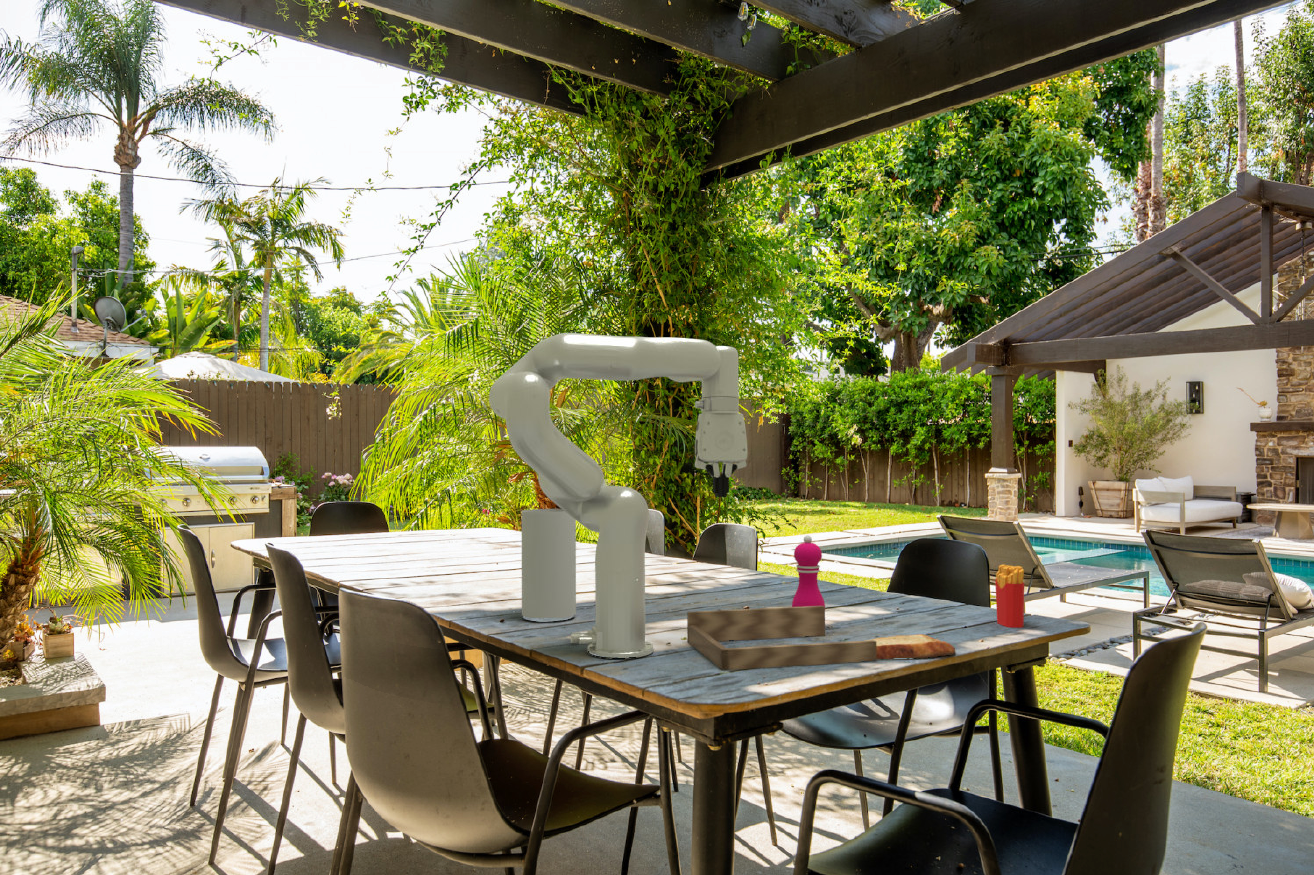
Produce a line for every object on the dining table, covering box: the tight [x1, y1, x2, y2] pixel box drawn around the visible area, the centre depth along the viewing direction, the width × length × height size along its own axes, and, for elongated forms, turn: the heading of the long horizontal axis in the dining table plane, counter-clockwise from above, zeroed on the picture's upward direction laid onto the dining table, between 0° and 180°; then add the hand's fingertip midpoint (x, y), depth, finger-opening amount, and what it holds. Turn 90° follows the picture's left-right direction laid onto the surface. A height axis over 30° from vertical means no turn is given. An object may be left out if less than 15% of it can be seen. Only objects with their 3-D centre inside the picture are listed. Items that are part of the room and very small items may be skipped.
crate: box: [686, 605, 878, 671], centre depth 167 cm, size 29×24×6 cm
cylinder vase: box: [521, 508, 577, 619], centre depth 203 cm, size 12×12×25 cm
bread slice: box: [864, 633, 956, 659], centre depth 164 cm, size 18×18×4 cm
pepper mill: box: [791, 535, 826, 607], centre depth 190 cm, size 7×7×20 cm
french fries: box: [994, 563, 1025, 629], centre depth 192 cm, size 9×4×13 cm, turn 2°
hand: (720, 496), depth 178 cm, fingers closed
